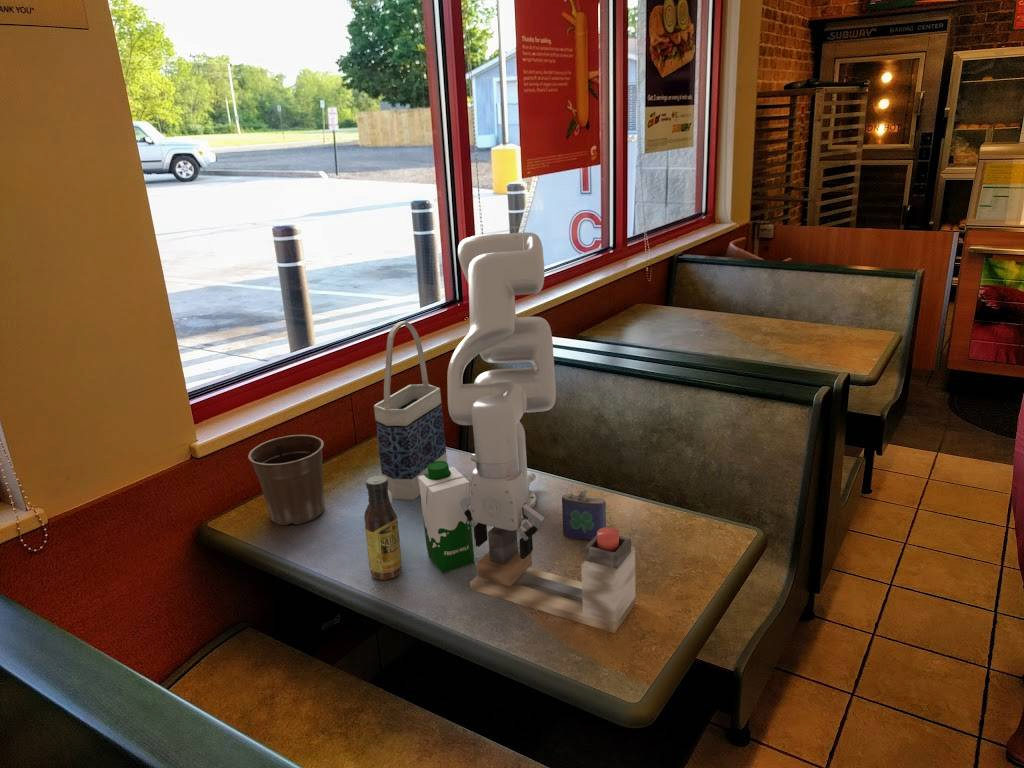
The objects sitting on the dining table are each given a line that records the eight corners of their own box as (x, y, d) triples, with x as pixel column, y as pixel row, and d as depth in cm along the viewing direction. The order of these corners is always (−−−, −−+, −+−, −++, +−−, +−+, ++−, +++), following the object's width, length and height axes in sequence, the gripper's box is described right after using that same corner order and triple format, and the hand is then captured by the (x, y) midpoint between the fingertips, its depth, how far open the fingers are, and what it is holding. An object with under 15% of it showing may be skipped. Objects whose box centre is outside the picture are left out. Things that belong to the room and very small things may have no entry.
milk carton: (462, 543, 157) (454, 455, 151) (481, 564, 150) (473, 472, 143) (422, 556, 154) (412, 466, 147) (439, 578, 146) (429, 484, 139)
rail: (470, 589, 142) (464, 522, 137) (496, 564, 149) (491, 500, 145) (614, 633, 127) (613, 560, 123) (635, 604, 135) (634, 534, 130)
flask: (608, 537, 156) (606, 490, 153) (604, 544, 154) (602, 497, 150) (565, 531, 160) (562, 485, 156) (560, 538, 157) (558, 491, 154)
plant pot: (245, 520, 173) (232, 455, 168) (300, 490, 185) (289, 429, 180) (294, 537, 164) (281, 469, 159) (348, 505, 177) (338, 441, 171)
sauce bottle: (388, 585, 145) (375, 491, 138) (363, 576, 148) (350, 484, 142) (410, 567, 150) (399, 476, 144) (386, 560, 153) (374, 470, 147)
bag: (422, 464, 195) (405, 312, 182) (451, 469, 191) (436, 314, 178) (380, 496, 180) (358, 332, 167) (411, 502, 176) (391, 335, 163)
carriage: (477, 576, 141) (474, 533, 138) (500, 555, 147) (497, 513, 144) (510, 586, 137) (507, 542, 134) (532, 564, 144) (529, 521, 141)
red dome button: (593, 550, 128) (593, 535, 127) (602, 539, 130) (602, 525, 129) (613, 555, 126) (613, 540, 125) (622, 544, 129) (622, 529, 128)
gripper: (445, 464, 136) (453, 548, 142) (529, 482, 128) (534, 570, 133) (468, 448, 142) (475, 529, 148) (550, 464, 134) (554, 550, 139)
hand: (503, 549), depth 141 cm, fingers open, 9 cm apart
